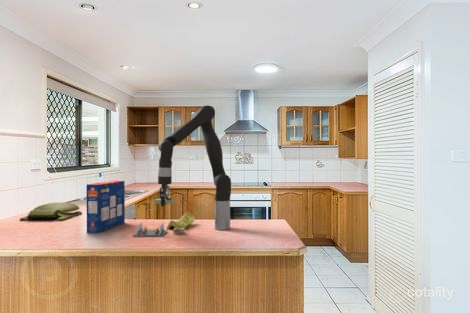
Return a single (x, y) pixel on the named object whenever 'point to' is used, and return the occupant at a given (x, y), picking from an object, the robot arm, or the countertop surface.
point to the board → (167, 201)
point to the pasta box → (105, 205)
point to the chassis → (150, 231)
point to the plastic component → (182, 221)
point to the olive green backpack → (53, 211)
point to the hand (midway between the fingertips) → (164, 205)
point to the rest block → (178, 231)
